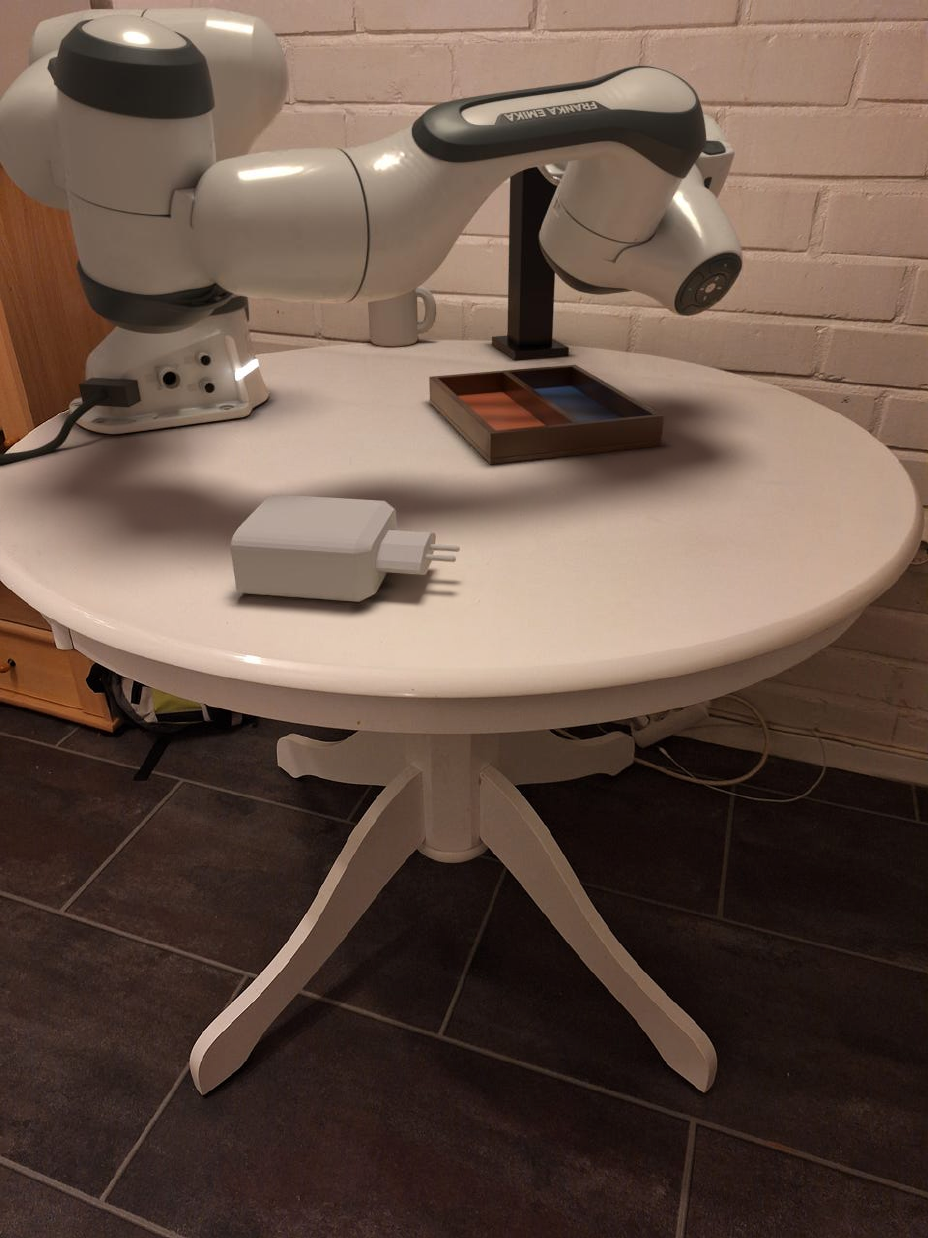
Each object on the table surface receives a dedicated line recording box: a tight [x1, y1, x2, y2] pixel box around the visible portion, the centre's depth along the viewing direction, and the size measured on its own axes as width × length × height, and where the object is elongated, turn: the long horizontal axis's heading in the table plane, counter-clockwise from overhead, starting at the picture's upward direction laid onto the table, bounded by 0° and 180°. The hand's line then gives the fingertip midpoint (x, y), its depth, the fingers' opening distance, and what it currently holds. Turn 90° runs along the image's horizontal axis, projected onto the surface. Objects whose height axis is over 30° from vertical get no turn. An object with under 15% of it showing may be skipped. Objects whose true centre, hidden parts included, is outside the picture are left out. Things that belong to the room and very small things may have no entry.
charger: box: [230, 493, 461, 603], centre depth 66 cm, size 5×9×15 cm
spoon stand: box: [491, 167, 570, 361], centre depth 124 cm, size 10×8×26 cm
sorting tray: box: [428, 364, 665, 465], centre depth 99 cm, size 23×18×3 cm
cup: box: [367, 285, 437, 348], centre depth 133 cm, size 7×10×9 cm
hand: (602, 103), depth 97 cm, fingers closed
